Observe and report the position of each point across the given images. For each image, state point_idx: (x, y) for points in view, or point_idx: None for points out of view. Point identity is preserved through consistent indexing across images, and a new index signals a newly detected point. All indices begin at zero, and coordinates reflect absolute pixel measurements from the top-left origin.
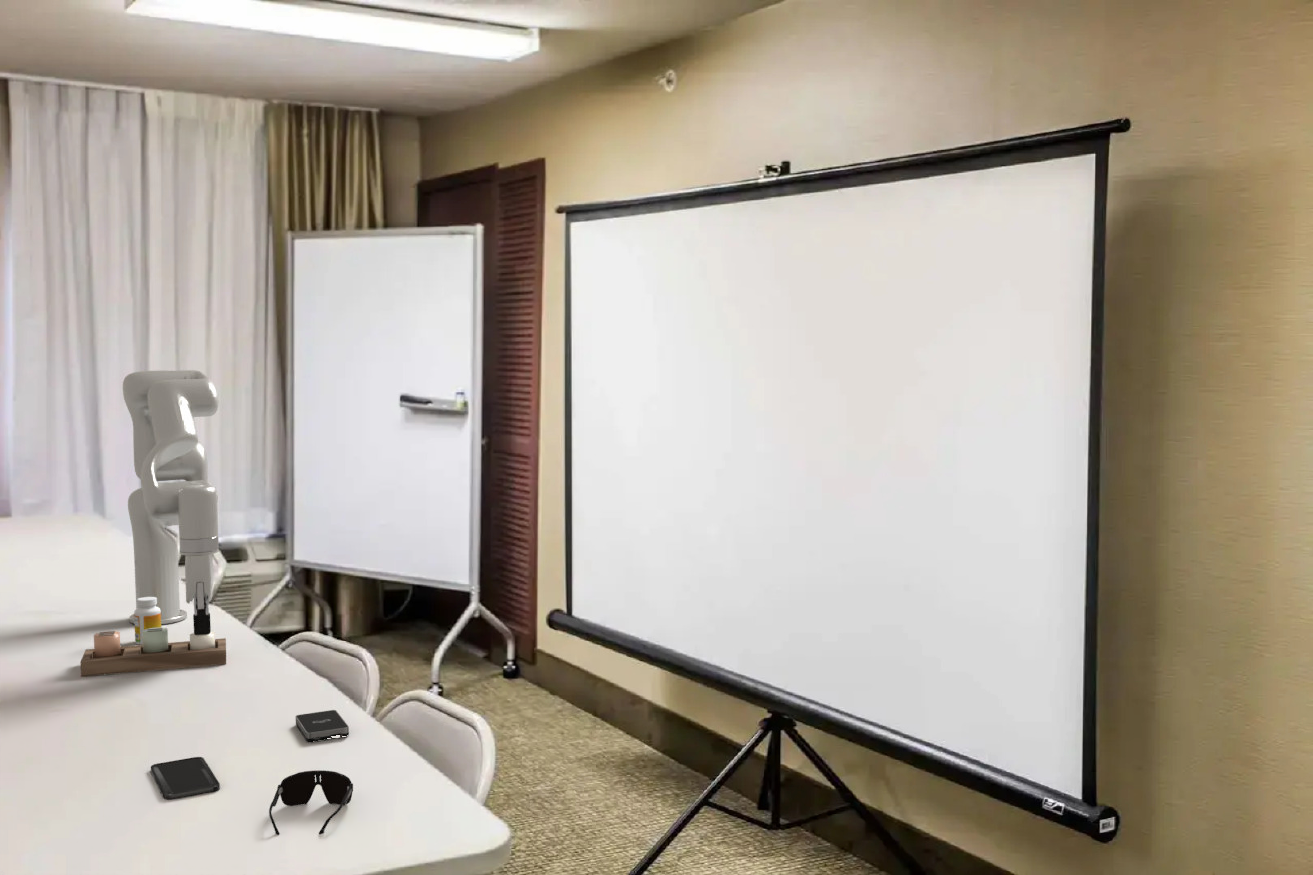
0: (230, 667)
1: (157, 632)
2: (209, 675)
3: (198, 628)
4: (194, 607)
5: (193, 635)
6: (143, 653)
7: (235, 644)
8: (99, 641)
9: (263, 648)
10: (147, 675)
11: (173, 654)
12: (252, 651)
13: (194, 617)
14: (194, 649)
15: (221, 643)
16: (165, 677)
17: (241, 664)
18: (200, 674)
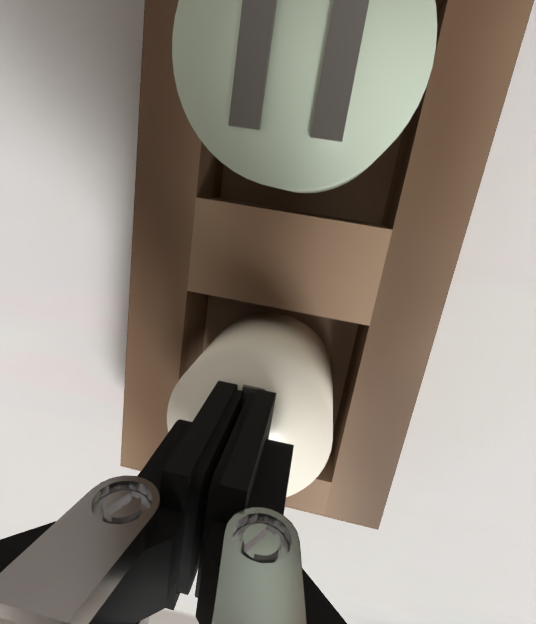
0: (97, 425)
1: (182, 72)
2: (4, 329)
3: (171, 428)
4: (13, 565)
5: (222, 371)
6: None
7: (508, 545)
8: None
9: (350, 605)
10: (95, 56)
11: (134, 205)
12: (322, 560)
13: (168, 468)
14: (217, 336)
15: None
16: (28, 145)
17: (127, 470)
18: (30, 300)
